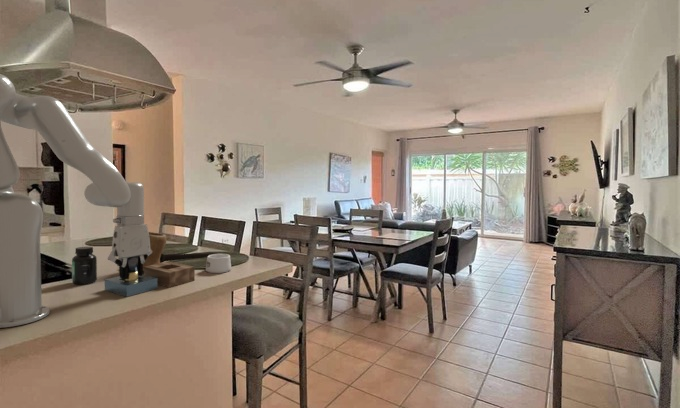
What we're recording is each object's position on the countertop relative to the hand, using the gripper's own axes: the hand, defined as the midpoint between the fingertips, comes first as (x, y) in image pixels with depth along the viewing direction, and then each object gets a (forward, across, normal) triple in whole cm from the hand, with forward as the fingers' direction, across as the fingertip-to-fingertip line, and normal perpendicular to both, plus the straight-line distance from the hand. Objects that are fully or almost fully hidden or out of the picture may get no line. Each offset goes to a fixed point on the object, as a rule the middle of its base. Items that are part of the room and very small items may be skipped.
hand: (131, 276), depth 115 cm
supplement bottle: (+5, -4, +20) cm, 21 cm away
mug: (+5, +33, -3) cm, 33 cm away
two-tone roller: (+4, 0, 0) cm, 4 cm away
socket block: (+4, 0, 0) cm, 4 cm away
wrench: (+5, +36, +20) cm, 42 cm away
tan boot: (+5, +18, +20) cm, 27 cm away
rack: (+4, +13, -1) cm, 14 cm away
